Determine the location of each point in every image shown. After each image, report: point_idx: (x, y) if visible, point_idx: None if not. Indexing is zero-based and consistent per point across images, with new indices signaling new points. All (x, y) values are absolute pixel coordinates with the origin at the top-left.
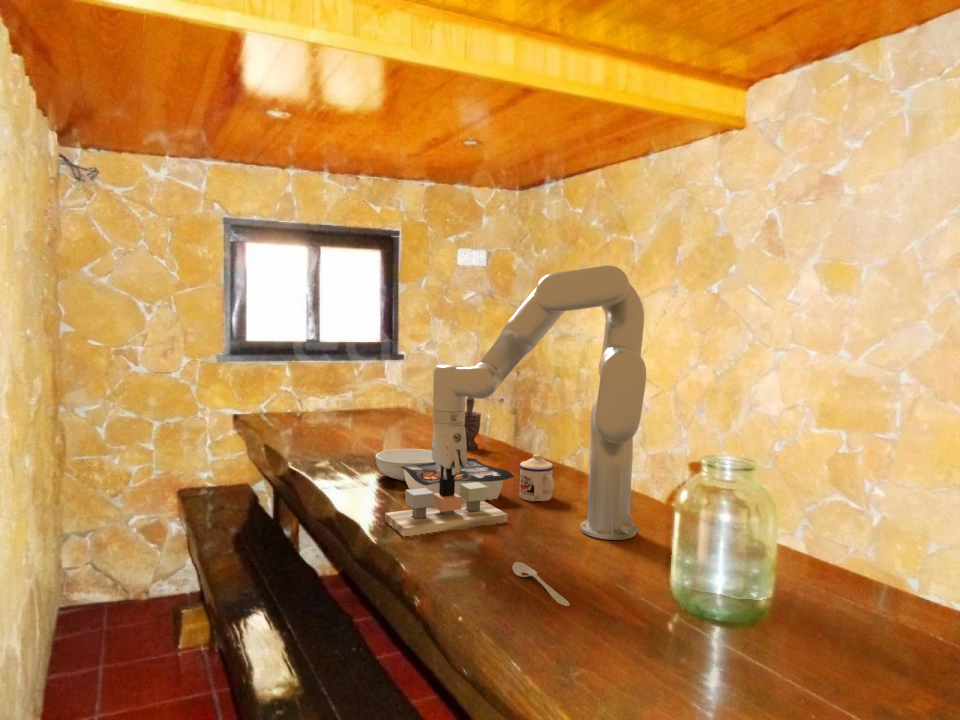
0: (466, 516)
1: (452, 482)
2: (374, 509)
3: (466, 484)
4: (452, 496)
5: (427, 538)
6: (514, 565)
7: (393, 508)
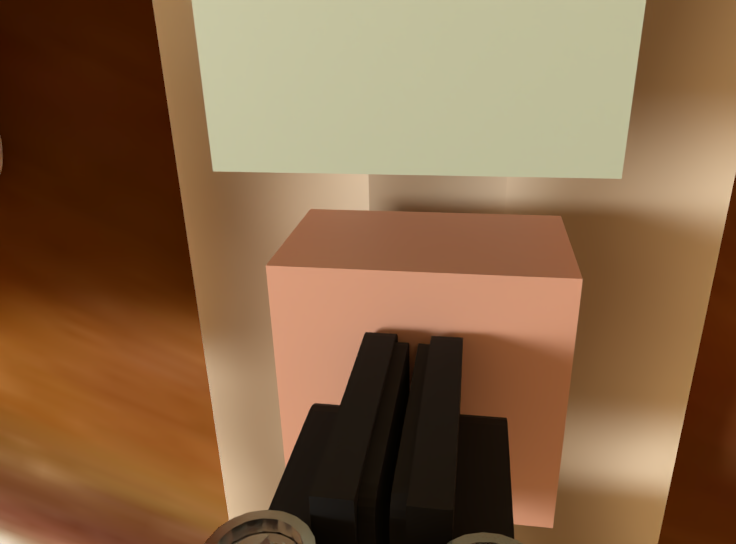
0: (626, 161)
1: (512, 533)
2: (11, 540)
3: (282, 66)
4: (507, 377)
5: (724, 539)
6: None
7: (5, 445)
